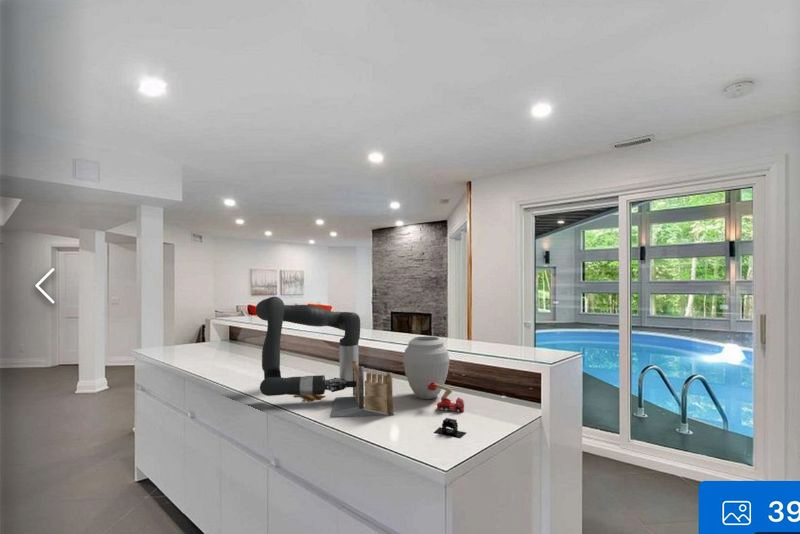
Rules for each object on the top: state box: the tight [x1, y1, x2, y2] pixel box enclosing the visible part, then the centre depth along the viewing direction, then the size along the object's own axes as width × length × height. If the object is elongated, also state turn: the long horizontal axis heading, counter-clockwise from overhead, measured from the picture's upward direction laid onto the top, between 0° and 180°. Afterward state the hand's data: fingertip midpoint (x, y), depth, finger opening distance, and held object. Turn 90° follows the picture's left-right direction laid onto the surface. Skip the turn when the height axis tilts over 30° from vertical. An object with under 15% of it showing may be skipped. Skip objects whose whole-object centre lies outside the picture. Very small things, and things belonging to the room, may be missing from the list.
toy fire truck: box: [428, 382, 465, 413], centre depth 149 cm, size 3×14×10 cm, turn 71°
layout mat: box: [330, 395, 395, 418], centre depth 154 cm, size 24×23×1 cm
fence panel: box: [352, 360, 360, 404], centre depth 160 cm, size 16×2×14 cm, turn 15°
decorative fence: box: [293, 395, 326, 403], centre depth 172 cm, size 25×2×10 cm
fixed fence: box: [359, 365, 394, 417], centre depth 148 cm, size 15×2×16 cm, turn 59°
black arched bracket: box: [433, 417, 467, 439], centre depth 127 cm, size 12×7×5 cm, turn 60°
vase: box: [402, 336, 450, 400], centre depth 166 cm, size 20×20×24 cm
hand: (355, 383), depth 160 cm, fingers closed
